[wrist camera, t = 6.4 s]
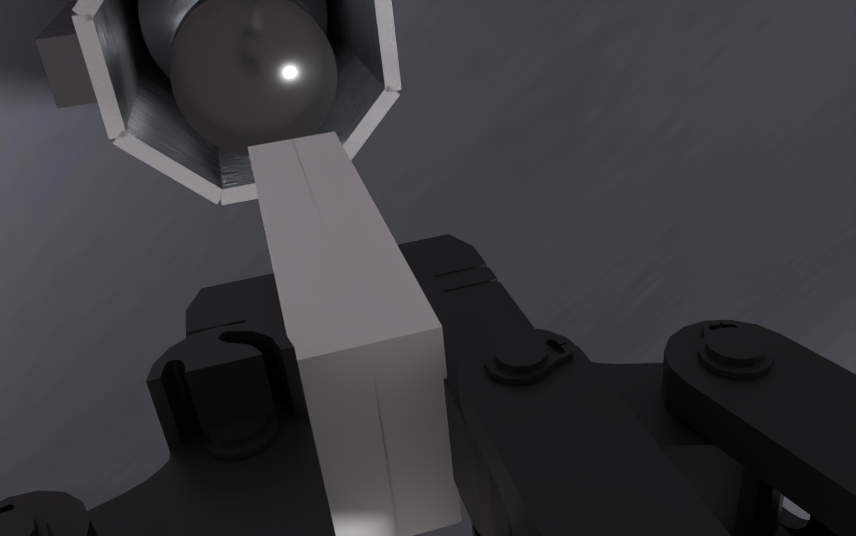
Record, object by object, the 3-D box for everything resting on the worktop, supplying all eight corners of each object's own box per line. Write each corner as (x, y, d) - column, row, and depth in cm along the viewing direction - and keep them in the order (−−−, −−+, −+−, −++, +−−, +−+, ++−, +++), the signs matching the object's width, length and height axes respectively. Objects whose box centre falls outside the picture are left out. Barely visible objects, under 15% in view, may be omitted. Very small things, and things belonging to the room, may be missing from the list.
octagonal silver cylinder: (47, -110, 34) (-29, -101, 22) (322, -140, 37) (387, -146, 25) (119, 129, 40) (89, 241, 28) (355, 90, 42) (421, 176, 30)
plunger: (115, -73, 31) (78, -45, 21) (309, -96, 33) (366, -80, 22) (166, 116, 35) (156, 221, 25) (337, 88, 37) (397, 175, 26)
